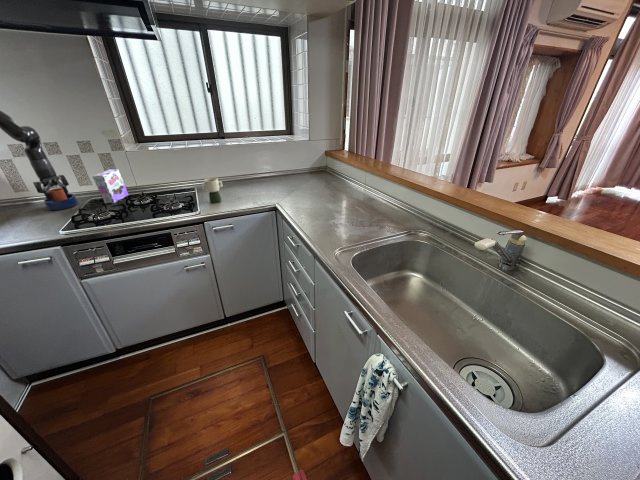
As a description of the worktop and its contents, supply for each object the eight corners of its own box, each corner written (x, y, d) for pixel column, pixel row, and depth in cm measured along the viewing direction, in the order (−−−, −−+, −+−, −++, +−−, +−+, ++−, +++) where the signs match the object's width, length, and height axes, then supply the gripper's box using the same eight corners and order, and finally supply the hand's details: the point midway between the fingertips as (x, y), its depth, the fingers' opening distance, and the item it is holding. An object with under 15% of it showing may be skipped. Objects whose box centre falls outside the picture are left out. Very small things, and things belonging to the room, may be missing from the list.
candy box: (114, 203, 153) (102, 175, 145) (104, 203, 153) (91, 175, 145) (129, 195, 165) (119, 168, 157) (120, 195, 165) (109, 168, 157)
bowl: (43, 212, 144) (38, 203, 141) (56, 203, 155) (51, 195, 152) (72, 209, 147) (67, 200, 145) (82, 200, 158) (78, 192, 156)
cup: (53, 207, 147) (45, 192, 143) (59, 203, 153) (51, 188, 148) (67, 206, 149) (59, 191, 144) (72, 202, 154) (64, 187, 150)
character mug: (224, 197, 159) (220, 176, 152) (226, 201, 153) (222, 179, 147) (205, 201, 155) (199, 179, 148) (206, 205, 149) (201, 182, 143)
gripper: (51, 163, 147) (66, 191, 155) (21, 170, 135) (39, 200, 143) (62, 164, 145) (76, 192, 153) (33, 171, 133) (50, 201, 141)
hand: (58, 196), depth 148 cm, fingers open, 8 cm apart
